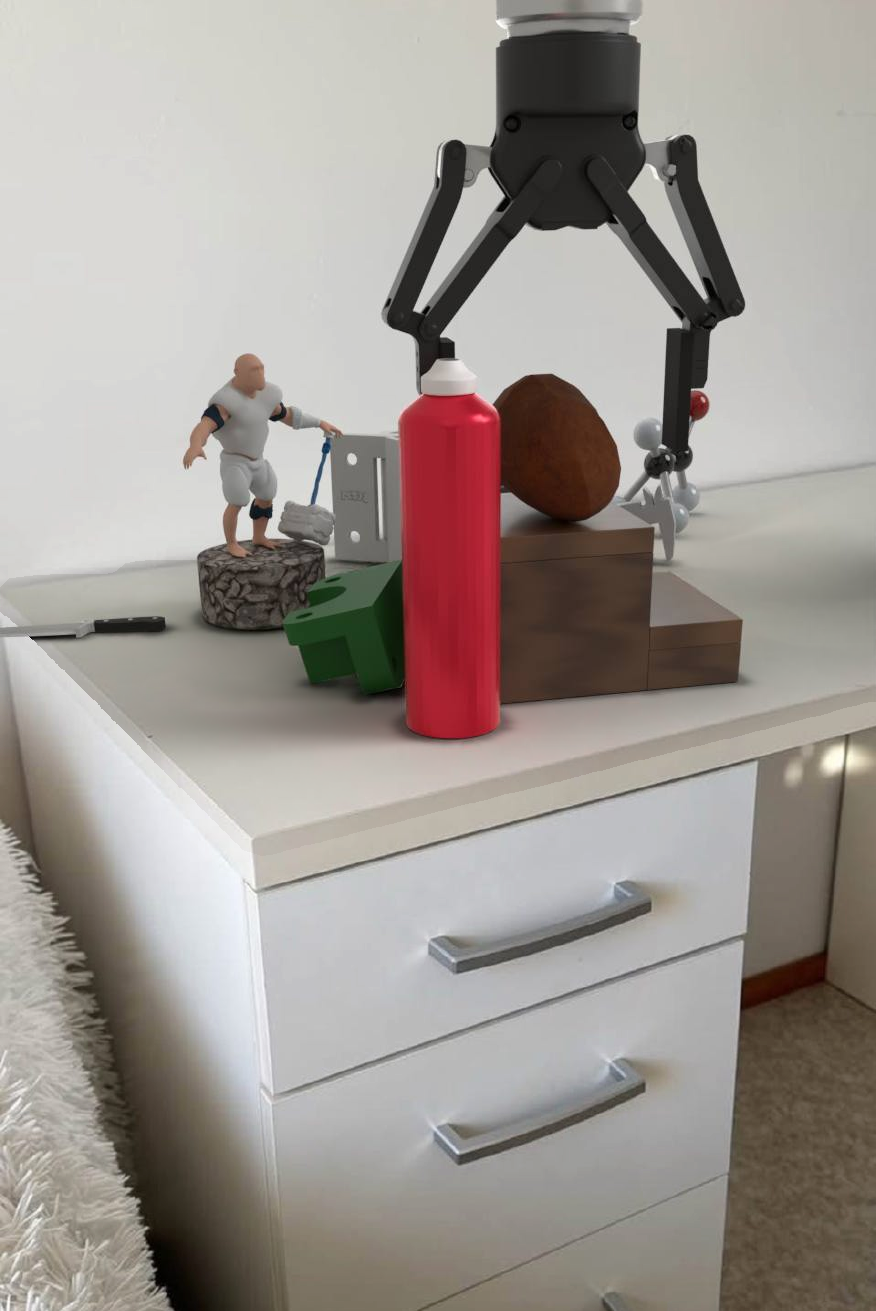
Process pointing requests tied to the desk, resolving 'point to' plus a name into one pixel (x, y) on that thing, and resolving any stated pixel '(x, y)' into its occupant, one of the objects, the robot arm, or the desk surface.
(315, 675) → the clamp
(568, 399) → the potato
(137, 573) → the desk surface
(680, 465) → the molecular model
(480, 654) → the bottle
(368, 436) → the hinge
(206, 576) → the figurine
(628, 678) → the step shelf
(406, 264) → the robot arm
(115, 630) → the knife
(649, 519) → the caliper
